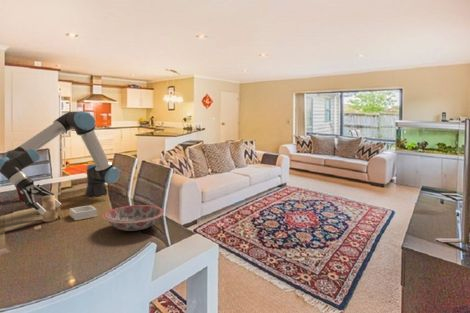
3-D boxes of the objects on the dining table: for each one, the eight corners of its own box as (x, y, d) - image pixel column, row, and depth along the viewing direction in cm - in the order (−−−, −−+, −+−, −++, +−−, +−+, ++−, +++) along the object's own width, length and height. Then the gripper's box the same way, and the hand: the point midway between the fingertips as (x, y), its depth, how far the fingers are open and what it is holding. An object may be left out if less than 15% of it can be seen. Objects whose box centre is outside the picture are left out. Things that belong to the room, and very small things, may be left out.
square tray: (91, 211, 173) (90, 205, 172) (97, 216, 164) (97, 209, 164) (69, 215, 165) (69, 208, 164) (75, 220, 156) (75, 213, 156)
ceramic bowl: (143, 215, 168) (143, 202, 167) (175, 227, 149) (175, 212, 148) (92, 228, 145) (92, 213, 144) (123, 244, 127) (122, 226, 126)
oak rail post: (54, 217, 161) (53, 194, 159) (57, 220, 156) (55, 196, 155) (41, 219, 157) (40, 196, 155) (44, 222, 152) (42, 198, 151)
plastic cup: (17, 198, 198) (16, 181, 197) (36, 197, 202) (35, 180, 201) (12, 202, 188) (11, 184, 187) (32, 201, 193) (31, 183, 191)
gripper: (32, 181, 166) (60, 207, 168) (-1, 191, 142) (31, 221, 144) (41, 173, 166) (69, 198, 168) (9, 181, 141) (42, 211, 143)
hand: (52, 209), depth 156 cm, fingers open, 13 cm apart
